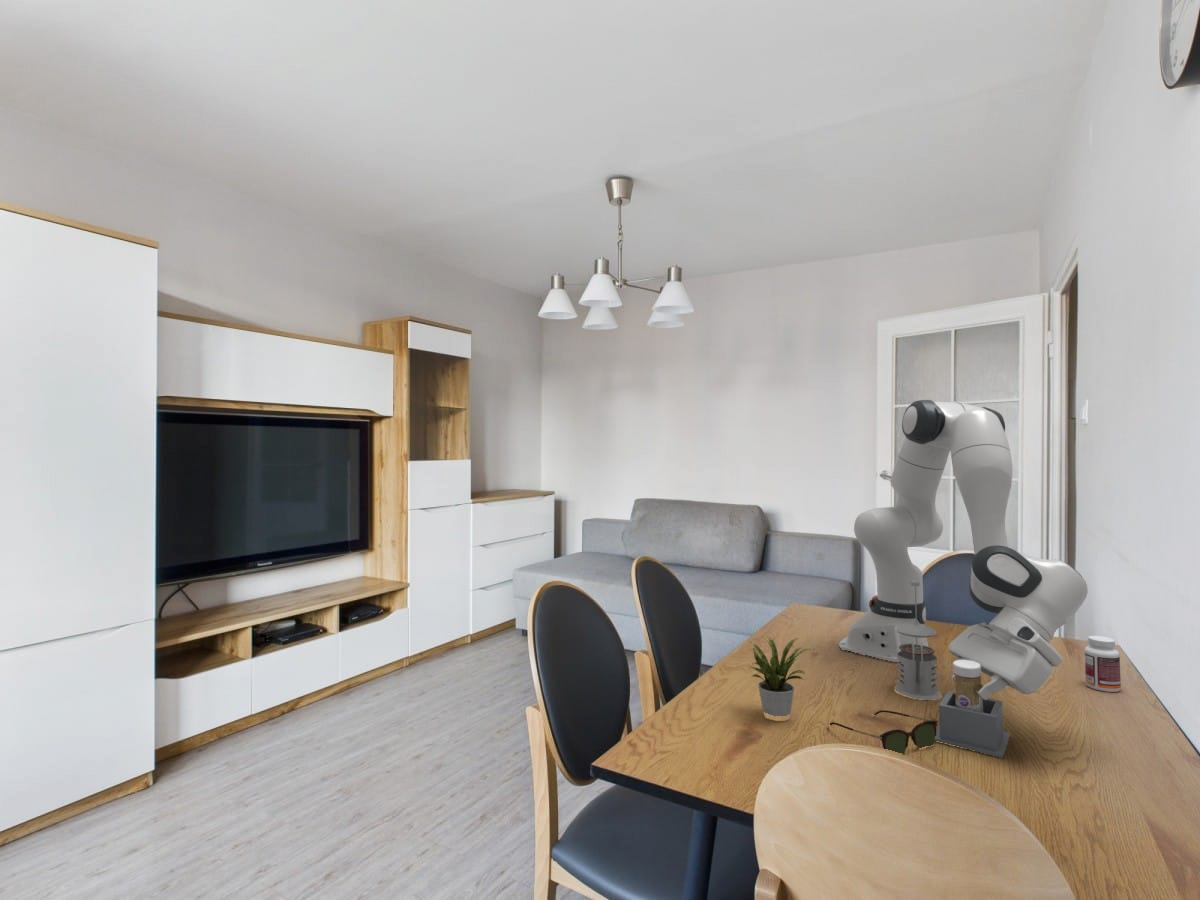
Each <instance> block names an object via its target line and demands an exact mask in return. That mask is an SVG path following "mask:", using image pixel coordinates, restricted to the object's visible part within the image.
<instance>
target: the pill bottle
mask: <svg viewBox="0 0 1200 900" xmlns="http://www.w3.org/2000/svg"><path fill="white" fill-rule="evenodd" d="M1087 638H1088V639H1087V641H1088V644H1089V645H1087V646H1086V647H1085V648H1084V667H1085V672H1084V674H1085V685H1086V686H1087V687H1088V688H1091V689H1093V690H1096V691H1101V692H1105V693H1117V692H1120V691H1121V687H1122V684H1121V683H1122V682H1121V680H1122V679H1121V659H1120V657H1121V656H1120V652H1119V651H1118V650H1117V649H1115V647H1116V640H1115V639H1113V638H1110V637H1107V636H1100V635H1091V636H1090V635H1089V636H1088V637H1087Z"/></svg>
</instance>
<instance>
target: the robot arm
mask: <svg viewBox="0 0 1200 900" xmlns="http://www.w3.org/2000/svg"><path fill="white" fill-rule="evenodd" d="M901 429H902V432H903V433H902V434H903V435H904V437H905V438H904V440H903V442H902V444H901V447H900V449H899V453H898V456H897V459H896V462H895V464H894V466H893V467H894V468H893V471H892V473H891V476H890V485H891V487H892V488H893V490H894V491H895V492H896V493H897V501H896V503H895V505H894V506H889V507H888V506H887V507H886V506H885V507H875V508H872V509H869V510H865V511H864V512H861V513H860V514H858V515H857V516H856V517H855V520H854V525H853V526H854V528H853V532H854V535H855V538H856V540H857V541H858V542H859V544H861V546H863V547H864V548H865V550H867V552H868V553H869V555H870V557H871V558H872V561H873V565H874V568H875V575H876V576H875V577H876V592H877V595H874V596H872V597H871V599H870V600H869V602H868V607H869V611H868V612H866V613H864V614H863V615H862V616H860V617H859V618H857V619H856V620H854V621H853V622H852V623H851V624H850V626H849V629H848V633H847V637H844V638H842V639H841V640H840V641H839V644H838V647H840V648H841V649H844V650H848V651H852V652H855V653H854V654H856V653H860V654H864V655H863V656H865V655H869V656H872V657H871V658H873V657H876V658H875V659H877V658H880V659H879V660H881V659H883V660H882V661H885V660H888V661H887V662H890V661H892V662H891V663H898V662H899V663H901V662H900V661H899V660H898V659H897V653H898V652H900V651H901V650H900V648H899V647H900V645H904V644H907V645H908V644H912V642H914V644H916V637H910V636H906V635H902V634H900V633H898V632H897V630H896V629H897V628H898V627H899V626H901V625H904V624H907V623H916V612H915V586H912V585H911V581H913V580H917V581H919V582H920V586H916V605H917V623H919V624H923V625H926V621H927V609H926V602H925V601H924V586H923V585H924V581H923V572H922V570H921V569H920V568H919V567H918V566H917V565H915V564H913V562H912V560H911V559H910V555H909V551H908V548H914V547H917V548H918V547H923V546H926V545H929V544H931V543H933V542H936V541H937V540H938V539H940V538H941V536H942V533H943V530H944V523H943V520H942V517H941V515H940V514H939V513H938V512H937V510H936V497H937V491H938V488H939V485H940V482H941V481H942V480H941V479H942V477H943V473H944V471H945V468H946V465H947V462H948V460H949V459H948V458H949V455H950V456H951V458H950V459H951V465H952V470H953V473H954V478H955V480H956V484H957V487H958V489H959V492H960V495H961V497H962V501H963V503H964V507H965V509H966V512H967V515H968V518H969V522H970V527H971V528H970V529H971V535H972V543H973V551H974V556H973V559H972V562H971V570H970V580H969V585H968V591H969V595H970V597H971V599H972V600H973V602H974V603H975V604H976V605H977V606H978V607H979V608H981V609H983V610H984V611H987V612H988V613H989V612H990V613H992V614H993V613H994V614H996V615H995V617H993V619H991V621H990V622H989V623H988V622H985V621H983V622H981V623H980V622H979V623H975V624H974V625H973V624H972V625H970V626H968V627H966V628H965V629H964V630H963V631H962V632H961V633H960V634H959V635H957V636H956V637H955V638H953V640H952V641H950V643H949V646H948V651H949V652H950V653H951V655H952V656H954V658H956V660H971V661H975V662H977V663H979V664H980V665H981V673H983V674H984V675H987V676H989V677H990V681H988V682H987V683H985V684H982V683H981V684H980V685H979V686H978V688H976V689H975V693H976V694H977V695H978V696H979V697H981V698H983V699H984V700H987V699H988V698H989V699H990V697H991V696H992V695H993V694H997V693H998V692H1000V691H1003V690H1004V689H1006V688H1007V687H1009V688H1012V689H1014V690H1016V691H1018V692H1020V693H1022V694H1023V695H1026V696H1027V695H1030V694H1034V693H1036V691H1038V689H1040V688H1041V687H1042V686H1043V685H1044V684H1045V682H1046V681H1047V680H1048V679H1049V678H1050V676H1051V675H1052V673H1053V671H1054V668H1055V667H1056V668H1057V667H1059V666H1060V665H1061V664H1062V663H1063V662H1064V658H1063V656H1062V655H1061V654H1060V653H1059V652H1058V651H1057V650H1056V649H1055V648H1054V647H1053V646H1052V644H1050V643H1051V641H1052V640H1053V639H1054V636H1055V634H1056V632H1057V630H1059V628H1061V627H1063V626H1064V625H1066V624H1067V623H1068V622H1069V621H1070V620H1071V619H1072V618H1073V616H1074V615H1075V614H1076V612H1078V610H1079V609H1080V608H1081V606H1083V603H1084V601H1086V598H1087V595H1088V591H1089V588H1088V584H1087V582H1086V580H1085V579H1084V578H1083V576H1082V575H1081V574H1080V572H1078V570H1076V569H1075V568H1074V567H1073V566H1071V565H1070V564H1068V563H1066V562H1065V561H1062V560H1060V559H1045V558H1039V557H1035V556H1032V555H1031V556H1030V555H1028V554H1024V553H1021V552H1019V551H1016V550H1015V549H1013V548H1011V547H1009V543H1008V539H1007V532H1006V531H1007V530H1006V521H1005V520H1006V511H1007V506H1008V502H1009V497H1010V492H1011V489H1012V484H1013V483H1012V482H1013V481H1012V480H1013V459H1012V454H1011V447H1010V445H1009V441H1008V437H1007V434H1006V423H1005V420H1004V417H1003V415H1002V414H1001V413H1000V412H998V411H996V410H994V409H992V408H988V407H986V406H983V407H981V406H977V405H973V404H968V403H963V402H957V401H956V402H950V401H933V400H932V399H922V400H921V399H920V400H915V401H913V402H912V403H911V404H909V405H908V407H907V408H905V411H904V413H903V417H902V421H901ZM921 642H922V646H926V647H929V644H928V637H926V638H919V637H917V645H921ZM840 648H839V649H840ZM841 649H840V650H841ZM844 650H843V651H844ZM848 651H847V652H848ZM852 652H851V653H852ZM860 654H859V655H860ZM869 656H868V657H869ZM950 678H951V680H952V681H953V682H954V683H955V675H954V674H952V675H951V677H950Z"/></svg>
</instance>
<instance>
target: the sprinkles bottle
mask: <svg viewBox="0 0 1200 900" xmlns="http://www.w3.org/2000/svg"><path fill="white" fill-rule="evenodd" d="M952 672H953V675H955V682H954V687H955V688H954V689H955V690H954V692H955V693H956V707H959V708H964V709H969V710H974V711H979V712H983V701H982V698H981V697H979V696H978V695H977V694H976V693H975V689H976V688H978V686H979V685H980V684H981V685H982V679H981V678H982V673H983V672H981V665H980V664H979V663H977V662H975V661H971V660H958V659H956V660H954V661H953V662H952Z"/></svg>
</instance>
